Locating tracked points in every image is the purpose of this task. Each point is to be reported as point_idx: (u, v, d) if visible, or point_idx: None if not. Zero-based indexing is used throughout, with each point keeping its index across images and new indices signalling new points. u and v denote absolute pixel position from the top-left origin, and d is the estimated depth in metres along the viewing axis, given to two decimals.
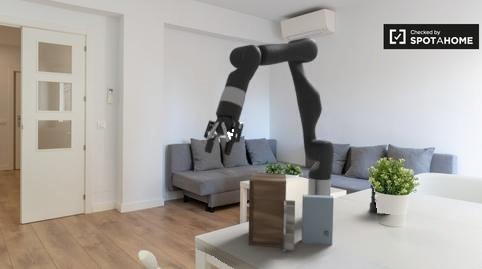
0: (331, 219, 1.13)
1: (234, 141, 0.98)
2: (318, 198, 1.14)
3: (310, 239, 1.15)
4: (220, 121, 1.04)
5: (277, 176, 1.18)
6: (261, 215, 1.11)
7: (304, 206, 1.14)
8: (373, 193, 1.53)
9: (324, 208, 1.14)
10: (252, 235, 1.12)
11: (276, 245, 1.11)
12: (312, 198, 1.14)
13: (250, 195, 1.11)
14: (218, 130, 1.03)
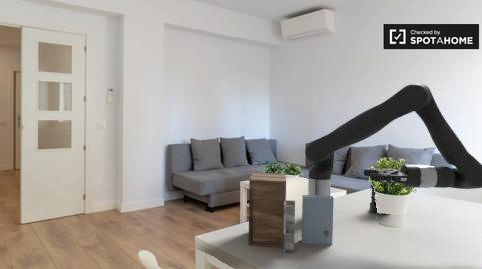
0: (331, 219, 1.13)
1: None
2: (318, 198, 1.14)
3: (310, 239, 1.15)
4: None
5: (277, 176, 1.18)
6: (261, 215, 1.11)
7: (304, 206, 1.14)
8: (373, 193, 1.53)
9: (324, 208, 1.14)
10: (252, 235, 1.12)
11: (276, 245, 1.11)
12: (312, 198, 1.14)
13: (250, 195, 1.11)
14: None
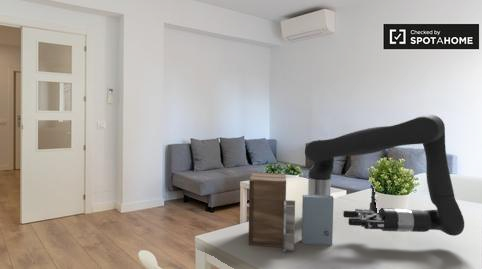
0: (331, 219, 1.13)
1: None
2: (318, 198, 1.14)
3: (310, 239, 1.15)
4: None
5: (277, 176, 1.18)
6: (261, 215, 1.11)
7: (304, 206, 1.14)
8: (373, 193, 1.53)
9: (324, 208, 1.14)
10: (252, 235, 1.12)
11: (276, 245, 1.11)
12: (312, 198, 1.14)
13: (250, 195, 1.11)
14: None
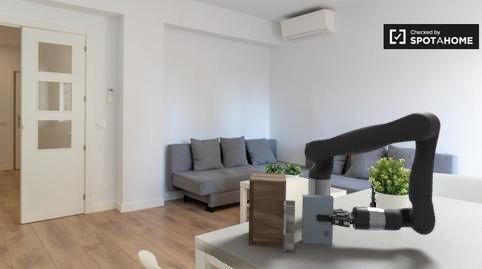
0: None
1: None
2: (318, 198, 1.14)
3: (310, 239, 1.15)
4: None
5: (277, 176, 1.18)
6: (261, 215, 1.11)
7: (304, 206, 1.14)
8: (373, 193, 1.53)
9: (324, 208, 1.14)
10: (252, 235, 1.12)
11: (276, 245, 1.11)
12: (312, 198, 1.14)
13: (250, 195, 1.11)
14: None
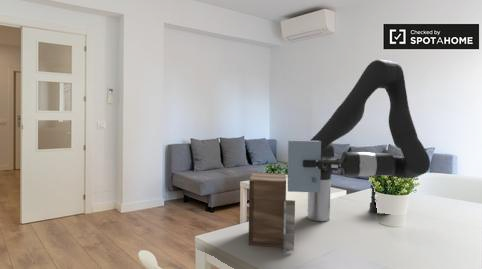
0: None
1: None
2: (304, 142, 1.05)
3: (296, 187, 1.06)
4: None
5: (277, 176, 1.18)
6: (261, 215, 1.11)
7: (289, 151, 1.06)
8: (373, 193, 1.53)
9: (311, 153, 1.05)
10: (252, 235, 1.12)
11: (276, 245, 1.11)
12: (298, 142, 1.05)
13: (250, 195, 1.11)
14: None
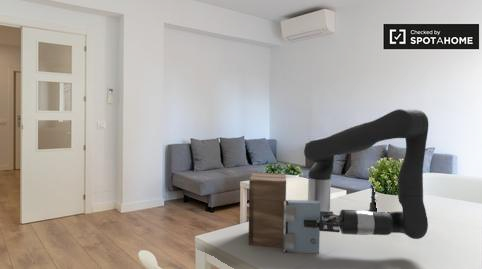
0: None
1: None
2: (304, 203, 1.06)
3: (296, 247, 1.07)
4: None
5: (277, 176, 1.18)
6: (261, 215, 1.11)
7: None
8: (373, 193, 1.53)
9: (310, 214, 1.06)
10: (252, 235, 1.12)
11: (276, 245, 1.11)
12: (297, 203, 1.06)
13: (250, 195, 1.11)
14: None
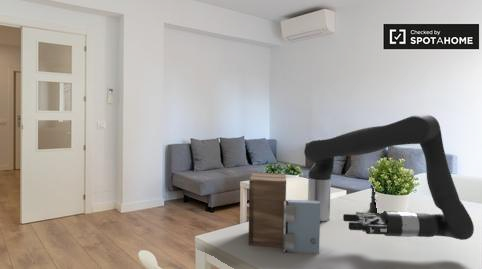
0: (318, 226, 1.06)
1: None
2: (304, 203, 1.06)
3: (296, 247, 1.07)
4: None
5: (277, 176, 1.18)
6: (261, 215, 1.11)
7: None
8: (373, 193, 1.53)
9: (310, 214, 1.06)
10: (252, 235, 1.12)
11: (276, 245, 1.11)
12: (297, 203, 1.06)
13: (250, 195, 1.11)
14: None
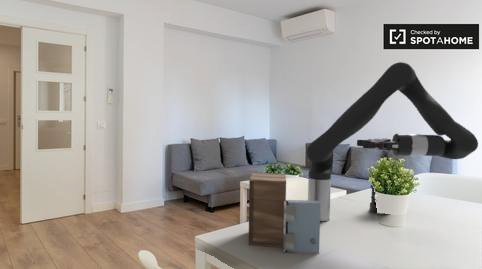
0: (318, 226, 1.06)
1: None
2: (304, 203, 1.06)
3: (296, 247, 1.07)
4: None
5: (277, 176, 1.18)
6: (261, 215, 1.11)
7: None
8: (373, 193, 1.53)
9: (310, 214, 1.06)
10: (252, 235, 1.12)
11: (276, 245, 1.11)
12: (297, 203, 1.06)
13: (250, 195, 1.11)
14: None
